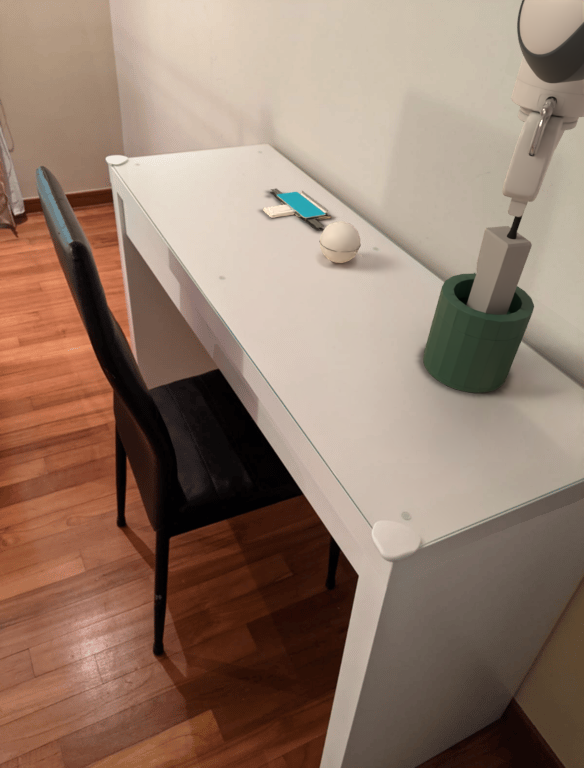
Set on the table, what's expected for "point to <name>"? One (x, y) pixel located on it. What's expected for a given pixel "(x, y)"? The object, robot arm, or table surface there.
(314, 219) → the phone stand
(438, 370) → the green hollow cylinder
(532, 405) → the table surface
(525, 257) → the vintage mobile phone
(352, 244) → the cream domed seamed part
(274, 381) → the table surface
